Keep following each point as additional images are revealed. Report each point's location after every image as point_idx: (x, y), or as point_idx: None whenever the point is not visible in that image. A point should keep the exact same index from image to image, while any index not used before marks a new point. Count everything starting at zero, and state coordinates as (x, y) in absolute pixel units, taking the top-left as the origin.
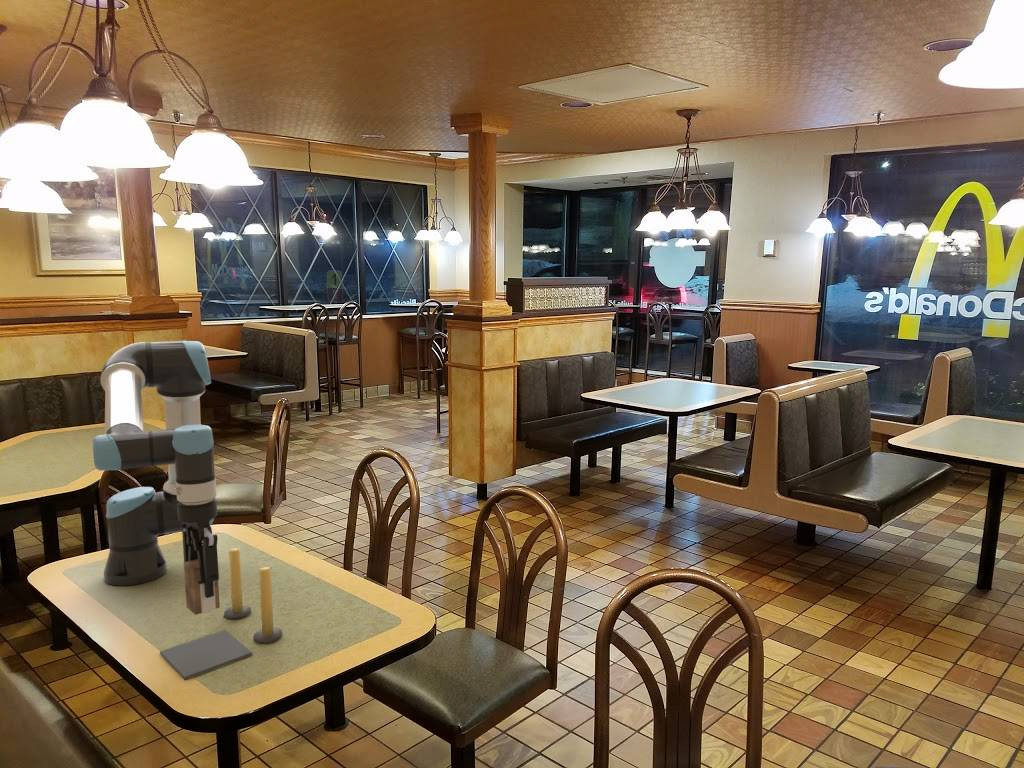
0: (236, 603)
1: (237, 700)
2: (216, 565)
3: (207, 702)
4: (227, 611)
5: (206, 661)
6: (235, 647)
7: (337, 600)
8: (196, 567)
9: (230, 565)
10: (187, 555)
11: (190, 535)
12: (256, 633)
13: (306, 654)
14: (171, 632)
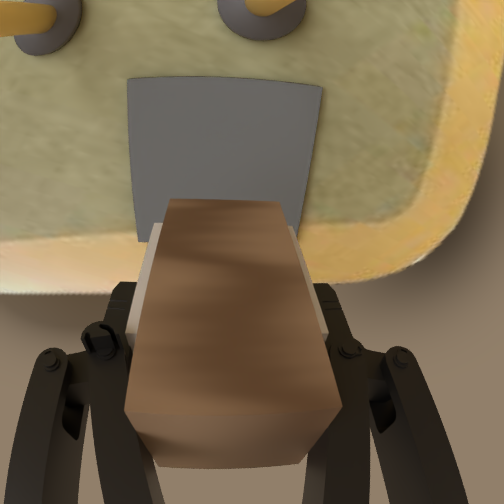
0: (39, 22)
1: (433, 207)
2: (436, 429)
3: (395, 241)
4: (30, 45)
5: (270, 187)
6: (260, 102)
7: None
8: (297, 458)
9: None
10: (79, 453)
11: None
12: (232, 22)
13: (422, 15)
14: (47, 188)
